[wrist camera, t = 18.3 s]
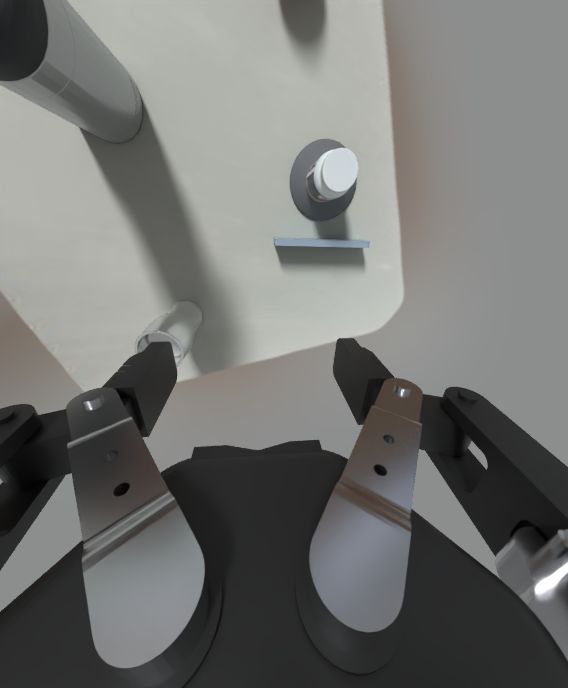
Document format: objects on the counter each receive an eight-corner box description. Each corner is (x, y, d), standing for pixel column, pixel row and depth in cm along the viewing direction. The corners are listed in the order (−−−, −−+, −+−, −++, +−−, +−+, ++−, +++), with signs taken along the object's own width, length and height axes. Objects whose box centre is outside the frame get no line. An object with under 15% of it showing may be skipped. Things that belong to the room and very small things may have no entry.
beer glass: (163, 322, 48) (127, 362, 34) (174, 291, 45) (139, 321, 32) (198, 336, 50) (176, 378, 36) (210, 307, 47) (191, 341, 34)
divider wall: (273, 243, 43) (275, 245, 40) (273, 237, 43) (275, 238, 39) (359, 245, 45) (368, 247, 41) (360, 239, 44) (369, 241, 41)
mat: (288, 218, 42) (288, 218, 41) (291, 137, 37) (291, 136, 36) (350, 221, 43) (351, 221, 42) (361, 142, 38) (362, 141, 37)
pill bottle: (335, 204, 41) (357, 200, 32) (302, 200, 40) (315, 194, 31) (342, 163, 38) (368, 146, 30) (307, 158, 38) (322, 139, 29)
